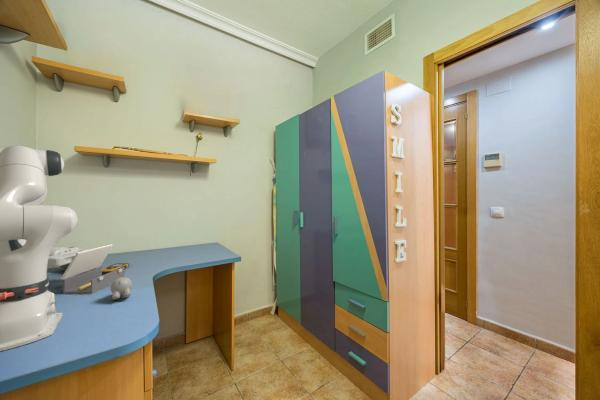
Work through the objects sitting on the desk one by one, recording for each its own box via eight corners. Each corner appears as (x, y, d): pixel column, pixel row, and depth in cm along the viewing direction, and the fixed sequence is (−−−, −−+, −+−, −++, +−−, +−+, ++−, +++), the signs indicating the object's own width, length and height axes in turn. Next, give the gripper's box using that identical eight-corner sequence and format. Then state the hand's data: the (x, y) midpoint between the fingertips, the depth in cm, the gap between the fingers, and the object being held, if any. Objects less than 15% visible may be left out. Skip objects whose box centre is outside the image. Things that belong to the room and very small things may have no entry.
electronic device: (95, 277, 125) (95, 270, 125) (114, 268, 141) (114, 262, 141) (112, 276, 126) (112, 270, 126) (129, 268, 142) (129, 262, 142)
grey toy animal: (131, 298, 104) (132, 278, 106) (132, 296, 95) (132, 274, 97) (110, 301, 99) (111, 281, 102) (109, 300, 90) (110, 277, 93)
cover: (78, 253, 101) (76, 252, 101) (62, 279, 101) (60, 278, 101) (113, 244, 121) (111, 244, 121) (99, 266, 121) (98, 265, 121)
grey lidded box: (94, 293, 101) (94, 279, 101) (63, 294, 101) (63, 280, 101) (126, 278, 121) (126, 267, 121) (100, 278, 121) (100, 267, 121)
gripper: (34, 255, 100) (69, 255, 100) (77, 246, 120) (105, 246, 121) (33, 269, 99) (68, 270, 100) (76, 258, 120) (104, 259, 121)
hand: (88, 257), depth 111 cm, fingers closed, pressing on cover
